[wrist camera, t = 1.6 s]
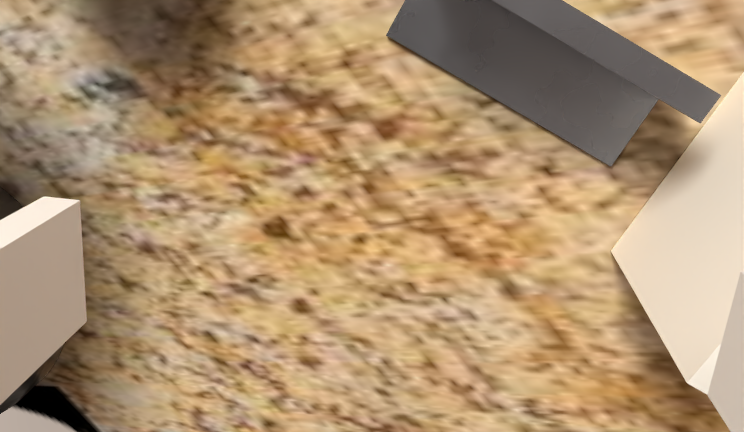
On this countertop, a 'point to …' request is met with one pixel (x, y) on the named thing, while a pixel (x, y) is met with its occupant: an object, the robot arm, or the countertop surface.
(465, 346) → the countertop surface
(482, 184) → the countertop surface
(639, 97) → the bookend
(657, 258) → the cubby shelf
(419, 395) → the countertop surface
